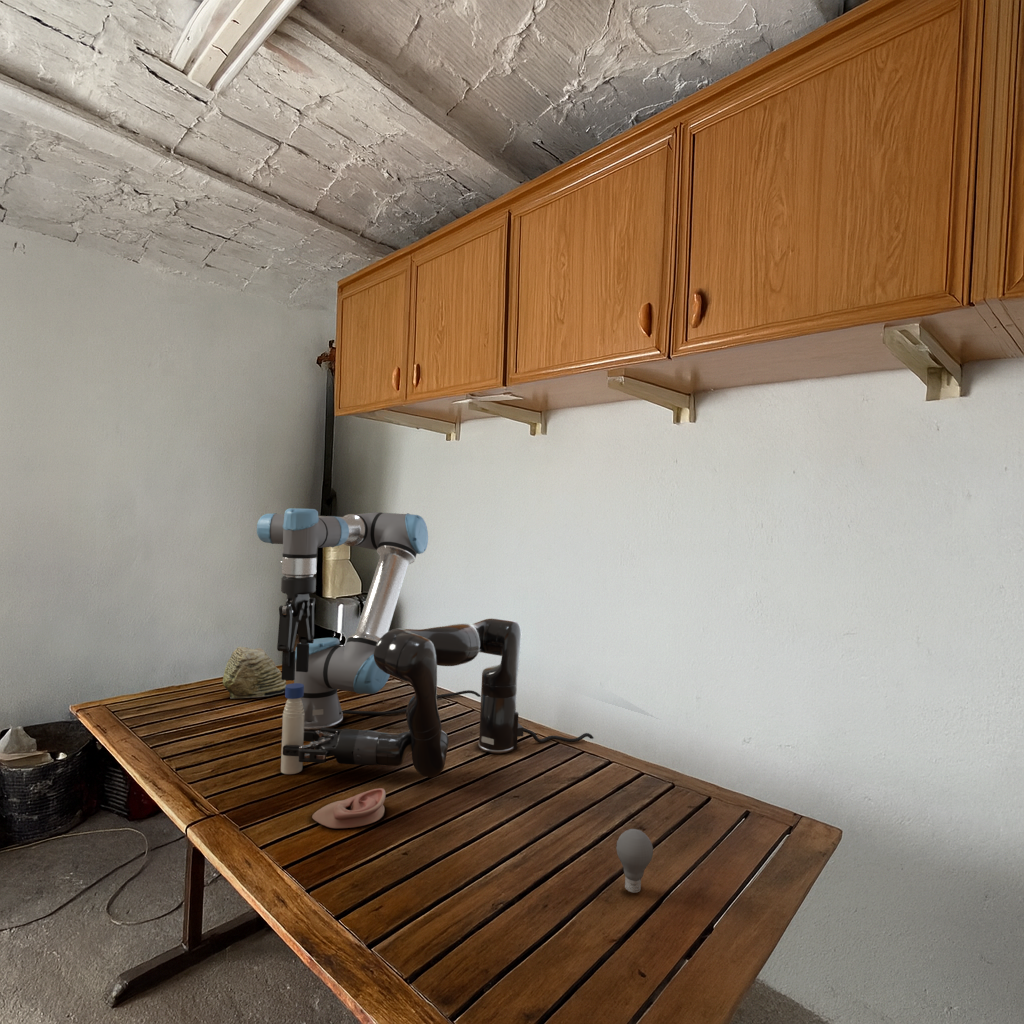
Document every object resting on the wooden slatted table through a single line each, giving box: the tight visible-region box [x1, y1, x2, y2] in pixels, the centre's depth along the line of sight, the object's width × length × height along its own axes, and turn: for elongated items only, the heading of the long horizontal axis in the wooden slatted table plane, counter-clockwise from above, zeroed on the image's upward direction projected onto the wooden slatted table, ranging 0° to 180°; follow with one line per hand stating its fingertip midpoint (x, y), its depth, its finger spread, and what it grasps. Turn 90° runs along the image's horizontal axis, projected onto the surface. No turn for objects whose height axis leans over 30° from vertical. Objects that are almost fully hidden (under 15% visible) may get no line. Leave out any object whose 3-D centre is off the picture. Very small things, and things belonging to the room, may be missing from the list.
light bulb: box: [615, 828, 654, 894], centre depth 106 cm, size 6×6×10 cm
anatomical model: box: [311, 787, 387, 829], centre depth 126 cm, size 13×4×12 cm
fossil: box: [222, 646, 287, 699], centre depth 198 cm, size 9×18×15 cm, turn 132°
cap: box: [284, 682, 304, 700], centre depth 146 cm, size 4×4×2 cm
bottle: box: [280, 698, 305, 775], centre depth 146 cm, size 5×5×19 cm
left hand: (295, 675), depth 146 cm, fingers open, 6 cm apart
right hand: (291, 742), depth 146 cm, fingers open, 8 cm apart
